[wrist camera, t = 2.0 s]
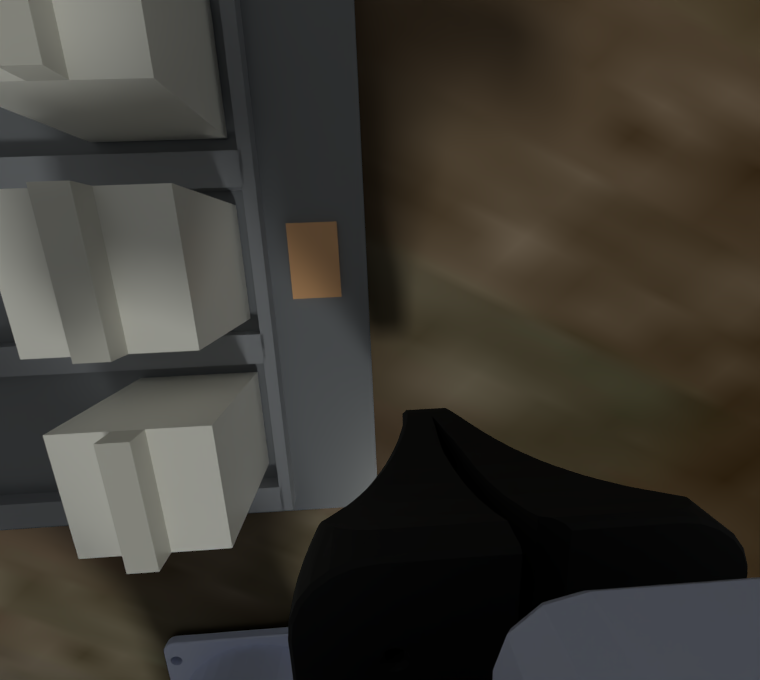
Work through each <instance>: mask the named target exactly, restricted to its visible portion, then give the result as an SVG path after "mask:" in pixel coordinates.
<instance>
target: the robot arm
mask: <svg viewBox="0 0 760 680" xmlns="http://www.w3.org/2000/svg"><path fill="white" fill-rule="evenodd" d="M164 655H165V659H166V663H167V667H168V672H169V676H170V680H760V577H758V578H747V561H746V557H745V553H744V549H743V547H742V545H741V544H740V542H739V541H738V540H737V538H736V537H735V535H734V534H733V533H732V532H731V531H729V530H728V529H727V528H726V527H724V526H723V525H722V524H720V523H719V522H718V521H717V520H715V519H714V518H713V517H711V516H710V515H709V514H708V513H706V512H705V511H704V510H703V509H701V508H700V507H699V506H697V505H696V504H695V503H694V502H692V501H691V500H690V499H688V498H687V497H684V496H678V495H672V494H667V493H661V492H656V491H650V490H644V489H639V488H633V487H628V486H624V485H620V484H615V483H611V482H607V481H603V480H599V479H595V478H592V477H588V476H585V475H581V474H578V473H575V472H572V471H569V470H566V469H563V468H560V467H557V466H554V465H551V464H548V463H546V462H543V461H540V460H538V459H536V458H533V457H531V456H529V455H527V454H524V453H522V452H520V451H518V450H515V449H513V448H511V447H509V446H507V445H506V444H504V443H502V442H500V441H498V440H496V439H494V438H493V437H491V436H489V435H488V434H486V433H484V432H483V431H481V430H479V429H478V428H476V427H475V426H473V425H471V424H470V423H468V422H467V421H465V420H464V419H462V418H461V417H459V416H458V415H456V414H455V413H453V412H452V411H450V410H448V409H446V408H438V409H420V410H406V411H405V412H404V413H403V427H402V430H401V433H400V436H399V439H398V442H397V444H396V446H395V448H394V450H393V452H392V454H391V456H390V458H389V460H388V461H387V463H386V465H385V466H384V468H383V469H382V471H381V472H380V473H379V475H378V476H377V477H376V478H375V480H374V481H373V482H372V483H371V484H370V485H369V487H368V488H367V489H366V490H365V491H364V492H363V493H362V494H360V495H359V496H358V497H357V498H356V499H355V500H354V501H352V502H351V503H350V504H348V505H347V506H346V507H344V508H343V509H341V510H340V511H338V512H337V513H335V514H333V515H332V516H330V517H329V518H327V519H326V520H324V521H322V522H321V523H320V524H319V526H318V528H317V530H316V532H315V535H314V537H313V539H312V541H311V544H310V546H309V548H308V551H307V553H306V556H305V559H304V561H303V564H302V567H301V570H300V573H299V576H298V580H297V583H296V587H295V591H294V596H293V601H292V606H291V611H290V616H289V623H288V627H281V628H269V629H256V630H243V631H231V632H218V633H206V634H193V635H180V636H174V637H172V638H170V639H169V640H168V642H167V644H166V646H165V648H164Z"/></svg>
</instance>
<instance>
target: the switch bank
mask: <svg viewBox="0 0 760 680" xmlns="http://www.w3.org/2000/svg"><path fill="white" fill-rule="evenodd" d="M210 7H211V15H212V23H213V30H214V38H215V46H216V54H217V62H218V69H219V77H220V85H221V93H222V100H223V108H224V116H225V124H226V132H227V138H224V139H190V140H157V141H123V142H88V141H86V140H83V139H80V138H78V137H75V136H73V135H70V134H68V133H65V132H63V131H60V130H57V129H55V128H52V127H50V126H47V125H45V124H42V123H40V122H37V121H35V120H32V119H29V118H27V117H24V116H22V115H19V114H17V113H14V112H12V111H9V110H6V109H4V108H1V107H0V189H12V188H27V185H26V182H39V181H74V182H78V183H82V184H87V185H91V186H100V185H130V184H159V183H173V184H176V185H178V186H181V187H184V188H187V189H190V190H193V191H196V192H199V193H202V194H205V195H207V196H210V197H213V198H216V199H219V200H222V201H225V202H228V203H231V204H233V205H236V209H237V217H238V225H239V233H240V240H241V248H242V256H243V264H244V271H245V279H246V287H247V295H248V303H249V310H250V319H249V320H247V321H246V322H244V323H242V324H241V325H239V326H238V327H236V328H234V329H233V330H231V331H230V332H228V333H227V334H225V335H223V336H222V337H220V338H219V339H217V340H215V341H214V342H212V343H211V344H209V345H207V346H206V347H204V348H203V349H201V350H198V351H179V352H159V353H139V354H128V355H125V356H123V357H121V358H119V359H116V360H114V361H112V362H99V363H80V364H72V360H71V357H61V358H41V359H21V360H20V357H19V354H18V350H17V347H16V343H15V340H14V336H13V333H12V330H11V326H10V323H9V319H8V316H7V313H6V309H5V306H4V302H3V299H2V296H1V292H0V530H11V529H25V528H40V527H55V526H69V524H68V521H67V517H66V514H65V510H64V507H63V504H62V500H61V497H60V493H59V490H58V487H57V483H56V480H55V476H54V473H53V470H52V466H51V463H50V459H49V456H48V452H47V449H46V446H45V442H44V439H43V435H44V434H46V433H47V432H49V431H51V430H53V429H54V428H56V427H58V426H59V425H61V424H63V423H65V422H66V421H68V420H70V419H71V418H73V417H75V416H76V415H78V414H80V413H82V412H83V411H85V410H87V409H88V408H90V407H92V406H94V405H95V404H97V403H99V402H100V401H102V400H104V399H106V398H107V397H109V396H111V395H112V394H114V393H116V392H118V391H119V390H121V389H123V388H124V387H126V386H128V385H130V384H131V383H133V382H135V381H136V380H138V379H140V378H152V377H171V376H189V375H208V374H227V373H246V372H258V380H259V388H260V396H261V404H262V411H263V419H264V427H265V435H266V442H267V450H268V458H269V465H268V467H267V469H266V472H265V474H264V476H263V479H262V481H261V483H260V486H259V488H258V490H257V492H256V495H255V497H254V499H253V502H252V504H251V506H250V509H249V511H248V513H263V512H277V511H292V510H307V509H322V508H337V507H346V506H347V505H348V504H350V503H351V502H352V501H354V500H355V499H356V498H357V497H358V496H359V495H360V494H362V493H363V492H364V491H365V490H366V489H367V488H368V487H369V485H370V484H371V483H372V482H373V481H374V480H375V478H376V477H377V467H376V447H375V426H374V405H373V384H372V363H371V342H370V322H369V301H368V280H367V259H366V238H365V217H364V197H363V176H362V155H361V134H360V113H359V93H358V72H357V51H356V30H355V9H354V0H210ZM248 513H247V514H248Z"/></svg>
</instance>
